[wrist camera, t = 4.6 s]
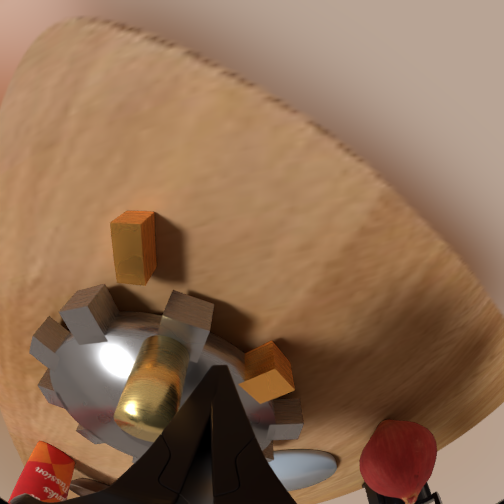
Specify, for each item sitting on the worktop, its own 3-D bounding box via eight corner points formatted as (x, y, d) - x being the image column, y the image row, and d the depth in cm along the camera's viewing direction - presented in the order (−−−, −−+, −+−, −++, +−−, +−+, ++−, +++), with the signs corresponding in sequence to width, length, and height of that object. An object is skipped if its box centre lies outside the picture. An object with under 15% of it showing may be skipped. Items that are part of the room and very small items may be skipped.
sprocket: (310, 276, 11) (350, 377, 6) (291, 455, 17) (298, 513, 12) (7, 283, 11) (-49, 337, 6) (101, 442, 17) (85, 490, 12)
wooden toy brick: (240, 216, 11) (240, 229, 9) (228, 431, 17) (227, 450, 15) (62, 209, 10) (41, 220, 9) (118, 415, 16) (112, 432, 15)
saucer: (152, 511, 31) (150, 522, 28) (75, 484, 29) (72, 495, 26) (162, 497, 26) (159, 513, 23) (62, 460, 23) (57, 475, 21)
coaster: (350, 443, 18) (352, 451, 17) (319, 482, 22) (320, 488, 21) (227, 449, 18) (227, 457, 17) (225, 485, 22) (225, 491, 21)
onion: (430, 398, 17) (468, 475, 9) (388, 438, 19) (412, 509, 11) (379, 397, 16) (416, 495, 8) (336, 440, 18) (355, 525, 10)
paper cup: (93, 473, 23) (72, 553, 10) (53, 460, 23) (30, 530, 10) (59, 443, 20) (27, 535, 7) (21, 429, 20) (-12, 506, 7)
